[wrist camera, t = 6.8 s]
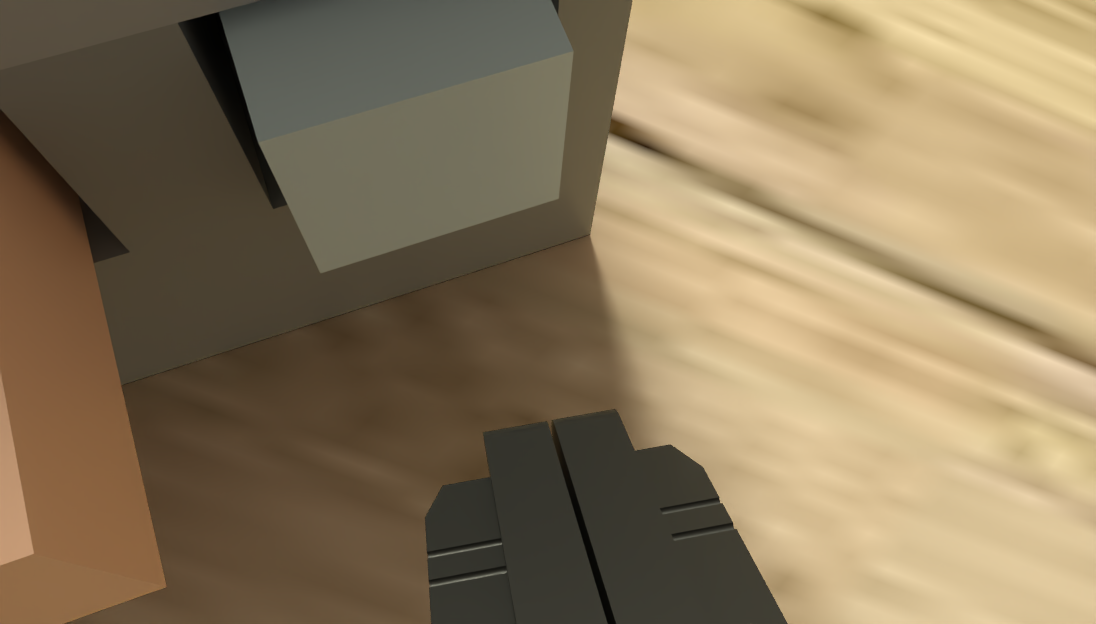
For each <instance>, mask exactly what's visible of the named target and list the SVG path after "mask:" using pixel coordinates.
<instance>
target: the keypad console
mask: <svg viewBox="0 0 1096 624" xmlns="http://www.w3.org/2000/svg"><path fill="white" fill-rule="evenodd" d="M257 1H261V0H0V109H1V110H2V111H3V112H4V113H5V114H6V116H7V117H8V118H9V119H10V120H11V121H12V122H13V123H14V124H15V126H16V127H17V128H18V129H19V130H20V131H21V132H22V133H23V134H24V135H25V137H26V138H27V139H28V140H29V141H30V142H31V143H32V144H33V145H34V147H35V148H36V149H37V150H38V151H39V152H40V153H41V154H42V155H43V156H44V158H45V159H46V160H47V161H48V162H49V163H50V164H51V165H52V166H53V168H54V169H55V170H56V171H57V172H58V173H59V174H60V175H61V176H62V177H63V179H64V180H65V181H66V182H67V183H68V184H69V185H70V186H71V187H72V189H73V190H74V191H75V192H76V193H77V194H78V196H79V201H80V205H81V210H82V214H83V218H84V223H85V227H86V232H87V236H88V241H89V245H90V249H91V254H92V258H93V263H94V267H95V272H96V276H97V280H98V285H99V289H100V294H101V298H102V303H103V307H104V311H105V316H106V320H107V325H108V329H109V334H110V338H111V342H112V347H113V351H114V356H115V360H116V365H117V369H118V373H119V378H120V382H121V385H124V384H127V383H130V382H133V381H136V380H139V379H142V378H145V377H148V376H151V375H155V374H158V373H161V372H164V371H167V370H170V369H173V368H176V367H179V366H183V365H186V364H189V363H192V362H195V361H198V360H201V359H204V358H207V357H211V356H214V355H217V354H220V353H223V352H226V351H229V350H232V349H235V348H239V347H242V346H245V345H248V344H251V343H254V342H257V341H260V340H263V339H267V338H270V337H273V336H276V335H279V334H282V333H285V332H288V331H291V330H295V329H298V328H301V327H304V326H307V325H310V324H313V323H316V322H319V321H323V320H326V319H329V318H332V317H335V316H338V315H341V314H344V313H347V312H350V311H354V310H357V309H360V308H363V307H366V306H369V305H372V304H375V303H378V302H382V301H385V300H388V299H391V298H394V297H397V296H400V295H403V294H406V293H410V292H413V291H416V290H419V289H422V288H425V287H428V286H431V285H434V284H438V283H441V282H444V281H447V280H450V279H453V278H456V277H459V276H462V275H466V274H469V273H472V272H475V271H478V270H481V269H484V268H487V267H490V266H494V265H497V264H500V263H503V262H506V261H509V260H512V259H515V258H518V257H522V256H525V255H528V254H531V253H534V252H537V251H540V250H543V249H546V248H550V247H553V246H556V245H559V244H562V243H565V242H568V241H571V240H574V239H577V238H581V237H584V236H587V235H590V232H591V227H592V221H593V216H594V210H595V205H596V199H597V193H598V188H599V182H600V177H601V171H602V166H603V160H604V155H605V149H606V144H607V138H608V133H609V127H610V122H611V116H612V111H613V105H614V100H615V94H616V88H617V83H618V77H619V72H620V66H621V61H622V55H623V50H624V44H625V39H626V33H627V28H628V22H629V17H630V11H631V6H632V0H551V1H552V3H553V6H554V8H555V10H556V12H557V15H558V17H559V19H560V21H561V24H562V26H563V28H564V30H565V33H566V35H567V37H568V39H569V42H570V44H571V46H572V49H573V51H574V52H573V62H572V72H571V82H570V92H569V102H568V112H567V122H566V131H565V141H564V151H563V161H562V171H561V181H560V191H559V199H556V200H553V201H550V202H546V203H543V204H540V205H537V206H534V207H530V208H527V209H524V210H521V211H518V212H515V213H511V214H508V215H505V216H502V217H499V218H495V219H492V220H489V221H486V222H483V223H479V224H476V225H473V226H470V227H467V228H464V229H460V230H457V231H454V232H451V233H448V234H444V235H441V236H438V237H435V238H432V239H429V240H425V241H422V242H419V243H416V244H413V245H409V246H406V247H403V248H400V249H397V250H393V251H390V252H387V253H384V254H381V255H378V256H374V257H371V258H368V259H365V260H362V261H358V262H355V263H352V264H349V265H346V266H342V267H339V268H336V269H333V270H330V271H327V272H323V273H320V271H319V269H318V267H317V265H316V263H315V261H314V259H313V257H312V255H311V252H310V250H309V248H308V246H307V244H306V242H305V240H304V238H303V236H302V234H301V231H300V229H299V227H298V225H297V223H296V221H295V219H294V217H293V215H292V213H291V210H290V208H289V206H288V204H287V202H286V200H285V198H284V196H283V194H282V192H281V189H280V187H279V185H278V183H277V181H276V179H275V177H274V175H273V173H272V171H271V168H270V166H269V164H268V162H267V160H266V158H265V156H264V154H263V152H262V150H261V147H260V145H259V143H258V140H257V137H256V134H255V131H254V127H253V124H252V121H251V117H250V114H249V111H248V107H247V104H246V101H245V97H244V94H243V91H242V87H241V84H240V81H239V78H238V74H237V71H236V68H235V64H234V61H233V58H232V54H231V51H230V48H229V44H228V41H227V38H226V35H225V31H224V28H223V25H222V21H221V18H220V15H219V12H220V11H223V10H227V9H231V8H235V7H238V6H242V5H246V4H250V3H253V2H257Z"/></svg>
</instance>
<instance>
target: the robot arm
mask: <svg viewBox="0 0 1096 624" xmlns="http://www.w3.org/2000/svg"><path fill="white" fill-rule="evenodd" d="M551 428H552V435H551V432H550V429H549V426H548V423H547V421H545V422H540V423H534V424H528V425H523V426H517V427H511V428H505V429H500V430H494V431H488V432H483V436H484V442H485V448H486V455H487V461H488V467H489V473H490V477H488V478H482V479H477V480H471V481H466V482H460V483H455V484H449V485H443V486H442V488H441V490H440V491H439V493H438V495H437V497H436V499H435V501H434V502H433V504H432V506H431V508H430V510H429V512H428V513H427V515H426V517H425V525H426V542H427V554H428V575H429V584H430V587H429V592H430V609H431V624H788V623H787V622H786V620H785V618H784V616H783V614H782V612H781V611H780V609H779V607H778V605H777V603H776V601H775V599H774V598H773V596H772V594H771V592H770V590H769V588H768V586H767V585H766V583H765V581H764V579H763V577H762V575H761V574H760V572H759V570H758V568H757V566H756V564H755V562H754V561H753V559H752V557H751V555H750V553H749V551H748V550H747V548H746V546H745V544H744V542H743V540H742V538H741V537H740V535H739V533H738V531H737V529H734V527H733V522H732V520H731V518H730V516H729V514H728V513H727V511H726V509H725V507H724V505H723V503H720V500H719V496H718V494H717V492H716V490H715V489H714V487H713V485H712V483H711V481H710V479H709V478H708V476H707V474H706V472H705V470H704V468H703V467H702V466H701V465H699V464H698V463H696V462H695V461H693V460H692V459H691V458H689V457H688V456H686V455H685V454H683V453H682V452H681V451H679V450H678V449H676V448H675V447H673V446H672V445H665V446H659V447H654V448H648V449H643V450H637V451H635V450H634V448H633V446H632V444H631V441H630V439H629V437H628V434H627V432H626V430H625V428H624V425H623V423H622V421H621V418H620V416H619V414H618V412H617V411H616V410H615V409H613V410H607V411H601V412H596V413H590V414H584V415H578V416H573V417H567V418H561V419H556V420H552V422H551Z"/></svg>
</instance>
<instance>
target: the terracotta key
mask: <svg viewBox="0 0 1096 624" xmlns="http://www.w3.org/2000/svg"><path fill="white" fill-rule="evenodd" d="M165 587H167V586H166V581H165V577H164V573H163V568H162V564H161V559H160V555H159V550H158V546H157V542H156V537H155V533H154V528H153V524H152V519H151V515H150V511H149V506H148V502H147V497H146V493H145V488H144V484H143V480H142V475H141V471H140V466H139V462H138V457H137V453H136V449H135V444H134V440H133V435H132V431H131V426H130V422H129V418H128V413H127V409H126V404H125V400H124V396H123V391H122V387H121V382H120V378H119V373H118V369H117V365H116V360H115V356H114V351H113V347H112V342H111V338H110V334H109V329H108V325H107V320H106V316H105V311H104V307H103V303H102V298H101V294H100V289H99V285H98V280H97V276H96V272H95V267H94V263H93V258H92V254H91V249H90V245H89V241H88V236H87V232H86V227H85V223H84V218H83V214H82V210H81V205H80V201H79V196H78V194H77V193H76V192H75V191H74V190H73V189H72V187H71V186H70V185H69V184H68V183H67V182H66V181H65V180H64V179H63V177H62V176H61V175H60V174H59V173H58V172H57V171H56V170H55V169H54V168H53V166H52V165H51V164H50V163H49V162H48V161H47V160H46V159H45V158H44V156H43V155H42V154H41V153H40V152H39V151H38V150H37V149H36V148H35V147H34V145H33V144H32V143H31V142H30V141H29V140H28V139H27V138H26V137H25V135H24V134H23V133H22V132H21V131H20V130H19V129H18V128H17V127H16V126H15V124H14V123H13V122H12V121H11V120H10V119H9V118H8V117H7V116H6V114H5V113H4V112H3V111H2V110H1V109H0V624H64V623H67V622H70V621H73V620H76V619H78V618H81V617H84V616H87V615H90V614H92V613H95V612H98V611H101V610H104V609H106V608H109V607H112V606H115V605H118V604H120V603H123V602H126V601H129V600H132V599H135V598H137V597H140V596H143V595H146V594H149V593H151V592H154V591H157V590H160V589H163V588H165Z"/></svg>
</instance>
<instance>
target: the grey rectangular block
mask: <svg viewBox="0 0 1096 624" xmlns="http://www.w3.org/2000/svg"><path fill="white" fill-rule="evenodd" d="M219 15H220V18H221V21H222V25H223V28H224V31H225V35H226V38H227V41H228V44H229V48H230V51H231V54H232V58H233V61H234V64H235V68H236V71H237V74H238V78H239V81H240V84H241V87H242V91H243V94H244V97H245V101H246V104H247V107H248V111H249V114H250V117H251V121H252V124H253V127H254V131H255V134H256V137H257V140H258V143H259V145H260V147H261V150H262V152H263V154H264V156H265V158H266V160H267V162H268V164H269V166H270V168H271V171H272V173H273V175H274V177H275V179H276V181H277V183H278V185H279V187H280V189H281V192H282V194H283V196H284V198H285V200H286V202H287V204H288V206H289V208H290V210H291V213H292V215H293V217H294V219H295V221H296V223H297V225H298V227H299V229H300V231H301V234H302V236H303V238H304V240H305V242H306V244H307V246H308V248H309V250H310V252H311V255H312V257H313V259H314V261H315V263H316V265H317V267H318V269H319V271H320V273H323V272H327V271H330V270H333V269H336V268H339V267H342V266H346V265H349V264H352V263H355V262H358V261H362V260H365V259H368V258H371V257H374V256H378V255H381V254H384V253H387V252H390V251H393V250H397V249H400V248H403V247H406V246H409V245H413V244H416V243H419V242H422V241H425V240H429V239H432V238H435V237H438V236H441V235H444V234H448V233H451V232H454V231H457V230H460V229H464V228H467V227H470V226H473V225H476V224H479V223H483V222H486V221H489V220H492V219H495V218H499V217H502V216H505V215H508V214H511V213H515V212H518V211H521V210H524V209H527V208H530V207H534V206H537V205H540V204H543V203H546V202H550V201H553V200H556V199H559V191H560V181H561V171H562V161H563V151H564V141H565V131H566V122H567V112H568V102H569V92H570V82H571V72H572V62H573V52H574V51H573V49H572V46H571V44H570V42H569V39H568V37H567V35H566V33H565V30H564V28H563V26H562V24H561V21H560V19H559V17H558V15H557V12H556V10H555V8H554V6H553V3H552V1H551V0H261V1H257V2H253V3H250V4H246V5H242V6H238V7H235V8H231V9H227V10H223V11H220V12H219Z"/></svg>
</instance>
